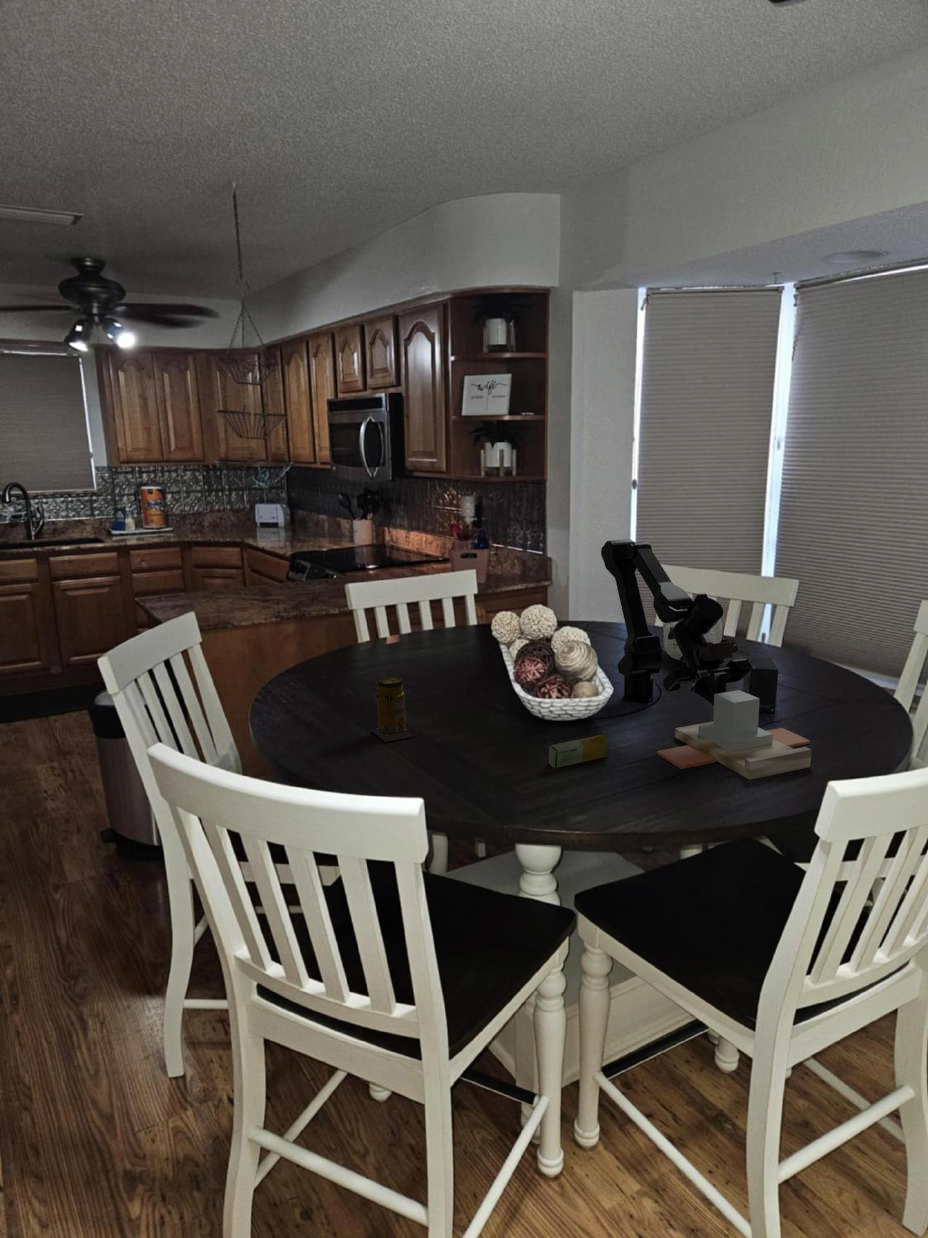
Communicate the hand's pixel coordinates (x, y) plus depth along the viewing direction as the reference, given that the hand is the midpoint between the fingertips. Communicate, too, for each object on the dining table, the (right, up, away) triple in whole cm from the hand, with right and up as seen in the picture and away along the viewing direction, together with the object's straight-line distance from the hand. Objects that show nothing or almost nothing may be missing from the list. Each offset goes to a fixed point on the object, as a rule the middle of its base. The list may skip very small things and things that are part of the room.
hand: (725, 711), depth 160 cm
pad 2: (+12, -6, +2) cm, 14 cm away
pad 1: (-9, -9, -5) cm, 14 cm away
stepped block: (+1, -5, -2) cm, 6 cm away
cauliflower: (+12, +8, +63) cm, 65 cm away
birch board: (+2, -8, -3) cm, 8 cm away
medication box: (-30, -10, -5) cm, 32 cm away
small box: (+15, -2, +23) cm, 28 cm away
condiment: (-68, -7, +12) cm, 70 cm away
